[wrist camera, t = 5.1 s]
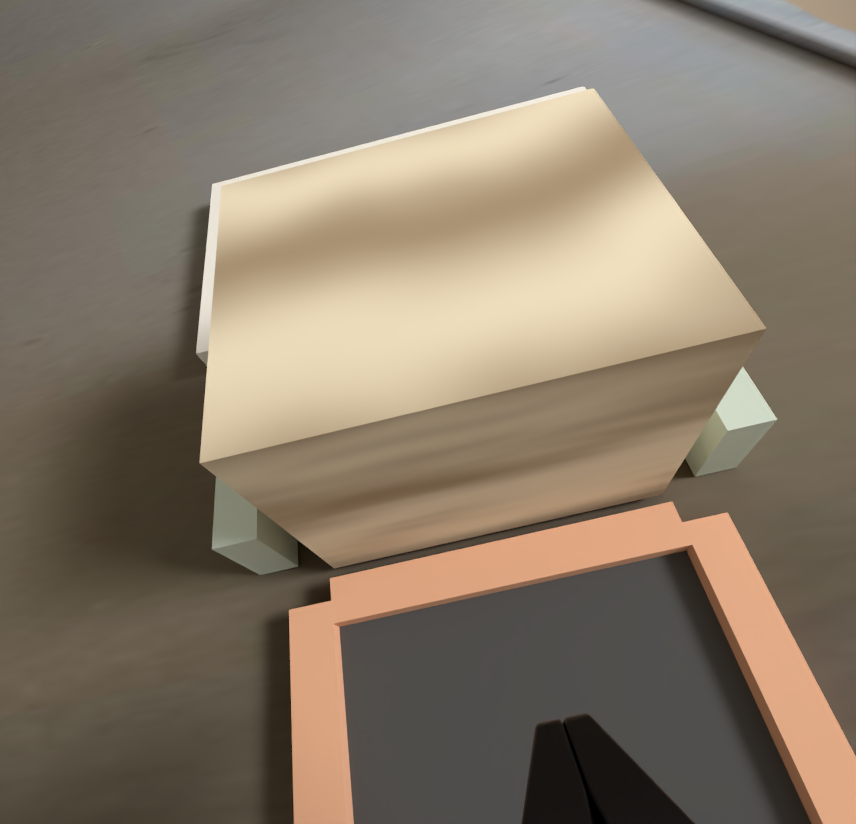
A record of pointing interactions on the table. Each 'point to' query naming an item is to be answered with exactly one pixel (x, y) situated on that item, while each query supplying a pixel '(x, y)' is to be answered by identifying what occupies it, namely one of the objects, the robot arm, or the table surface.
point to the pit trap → (561, 679)
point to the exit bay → (216, 188)
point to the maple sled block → (462, 333)
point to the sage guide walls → (712, 452)
